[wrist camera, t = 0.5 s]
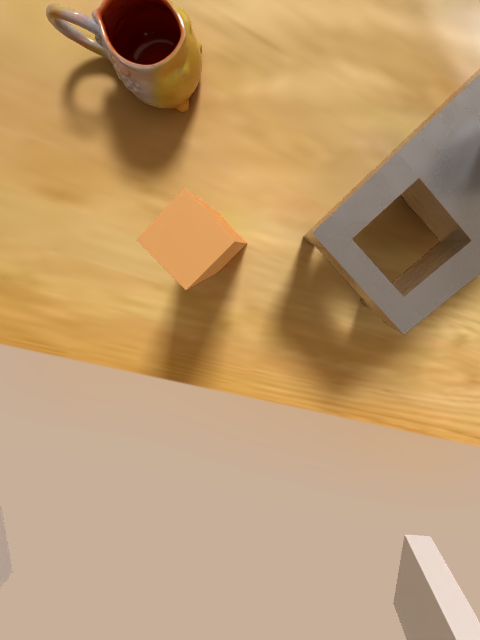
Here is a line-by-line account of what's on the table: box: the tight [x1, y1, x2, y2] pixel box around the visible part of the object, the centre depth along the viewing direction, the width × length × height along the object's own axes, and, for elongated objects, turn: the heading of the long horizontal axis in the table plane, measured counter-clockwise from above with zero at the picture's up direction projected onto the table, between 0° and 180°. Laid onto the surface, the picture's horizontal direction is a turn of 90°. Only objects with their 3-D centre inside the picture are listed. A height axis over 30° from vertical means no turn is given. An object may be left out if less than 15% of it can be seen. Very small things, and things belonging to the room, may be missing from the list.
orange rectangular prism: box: [137, 188, 247, 290], centre depth 25 cm, size 4×4×14 cm
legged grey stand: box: [303, 69, 480, 334], centre depth 22 cm, size 17×10×16 cm, turn 134°
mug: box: [46, 0, 202, 112], centre depth 26 cm, size 12×7×7 cm, turn 71°
